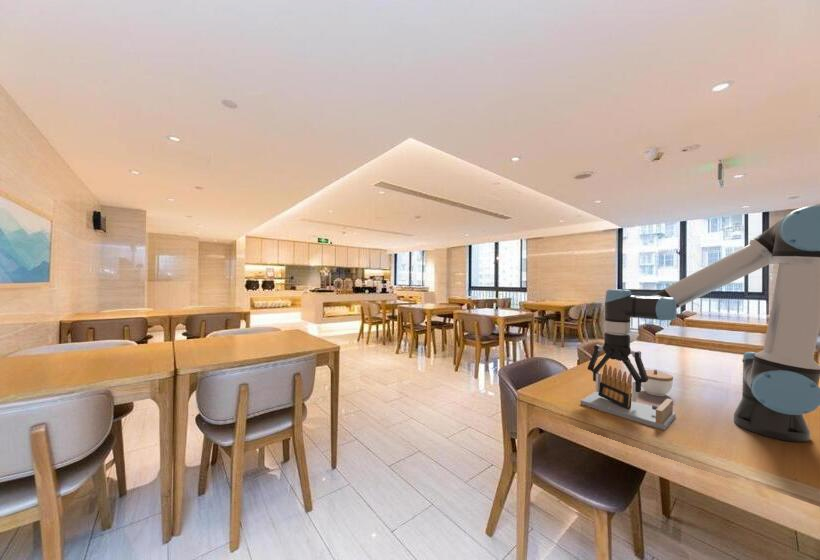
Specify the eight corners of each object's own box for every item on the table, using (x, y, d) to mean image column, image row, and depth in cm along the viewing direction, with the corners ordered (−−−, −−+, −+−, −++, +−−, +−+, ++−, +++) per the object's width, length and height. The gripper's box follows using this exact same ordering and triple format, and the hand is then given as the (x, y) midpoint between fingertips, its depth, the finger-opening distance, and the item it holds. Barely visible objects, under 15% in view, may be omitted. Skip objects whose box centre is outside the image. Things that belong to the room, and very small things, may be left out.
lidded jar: (660, 389, 129) (660, 366, 128) (679, 399, 118) (680, 374, 118) (632, 387, 130) (632, 365, 129) (649, 398, 119) (650, 373, 119)
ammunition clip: (630, 408, 106) (635, 374, 105) (627, 409, 105) (631, 374, 104) (601, 394, 116) (605, 363, 115) (598, 395, 115) (601, 363, 114)
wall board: (675, 417, 103) (675, 400, 103) (664, 430, 94) (665, 412, 94) (595, 395, 121) (595, 381, 121) (580, 404, 112) (580, 389, 112)
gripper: (661, 337, 103) (659, 403, 103) (586, 327, 121) (585, 384, 121) (654, 340, 98) (653, 409, 99) (577, 329, 116) (576, 388, 116)
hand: (615, 395), depth 110 cm, fingers open, 11 cm apart
